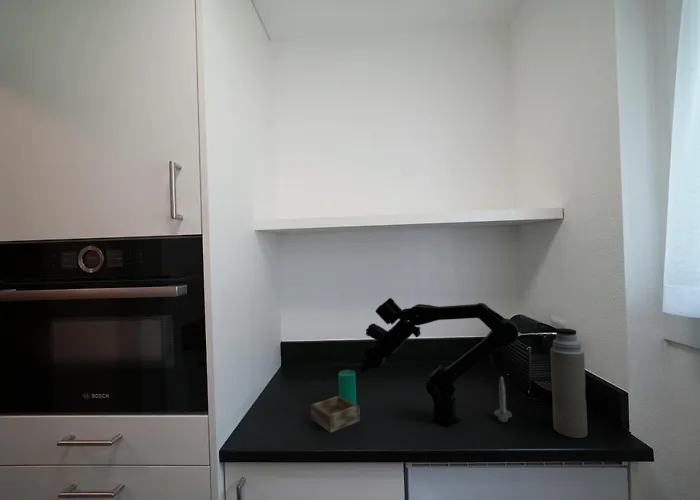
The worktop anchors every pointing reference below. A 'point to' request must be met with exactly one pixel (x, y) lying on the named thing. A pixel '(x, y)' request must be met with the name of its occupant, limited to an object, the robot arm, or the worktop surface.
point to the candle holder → (335, 413)
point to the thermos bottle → (568, 384)
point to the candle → (347, 385)
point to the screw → (502, 404)
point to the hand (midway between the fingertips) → (366, 366)
